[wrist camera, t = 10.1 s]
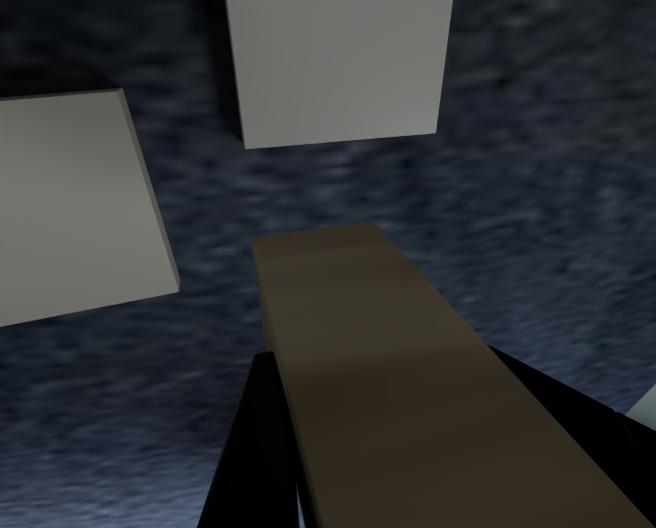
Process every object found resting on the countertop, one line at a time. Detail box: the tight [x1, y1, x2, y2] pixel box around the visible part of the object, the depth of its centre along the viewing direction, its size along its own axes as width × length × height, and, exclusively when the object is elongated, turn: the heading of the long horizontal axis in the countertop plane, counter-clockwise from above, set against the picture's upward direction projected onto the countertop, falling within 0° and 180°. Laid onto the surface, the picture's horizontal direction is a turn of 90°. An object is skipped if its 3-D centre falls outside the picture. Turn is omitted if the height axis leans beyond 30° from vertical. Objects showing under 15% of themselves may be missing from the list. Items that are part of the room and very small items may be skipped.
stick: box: [251, 221, 655, 528], centre depth 6 cm, size 3×3×9 cm
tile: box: [0, 88, 180, 327], centre depth 14 cm, size 8×2×7 cm
